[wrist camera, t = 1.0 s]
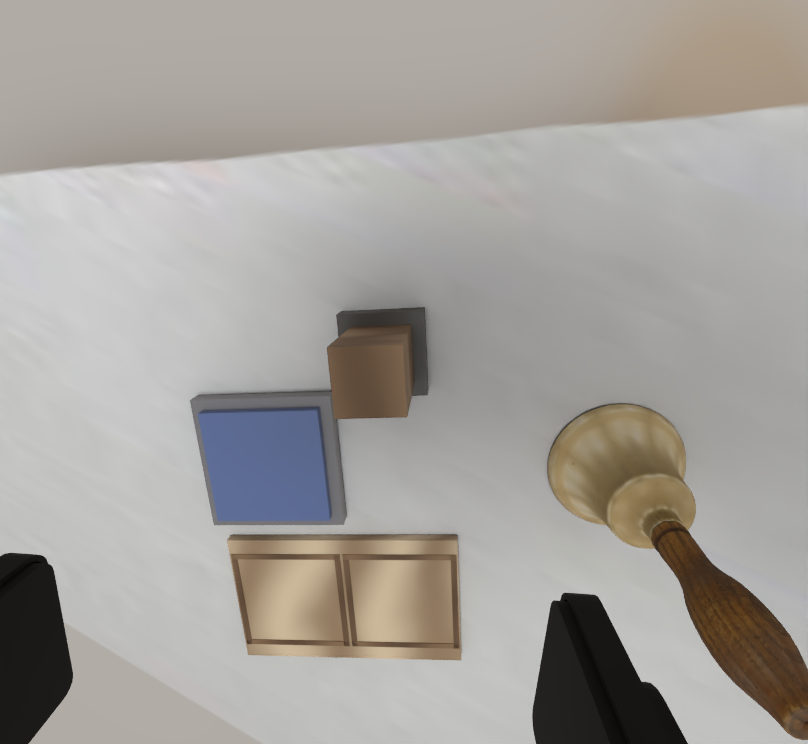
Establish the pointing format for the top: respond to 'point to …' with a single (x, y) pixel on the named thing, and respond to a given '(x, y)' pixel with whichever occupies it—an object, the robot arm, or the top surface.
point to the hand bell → (677, 546)
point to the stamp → (378, 362)
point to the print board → (349, 595)
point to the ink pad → (271, 458)
